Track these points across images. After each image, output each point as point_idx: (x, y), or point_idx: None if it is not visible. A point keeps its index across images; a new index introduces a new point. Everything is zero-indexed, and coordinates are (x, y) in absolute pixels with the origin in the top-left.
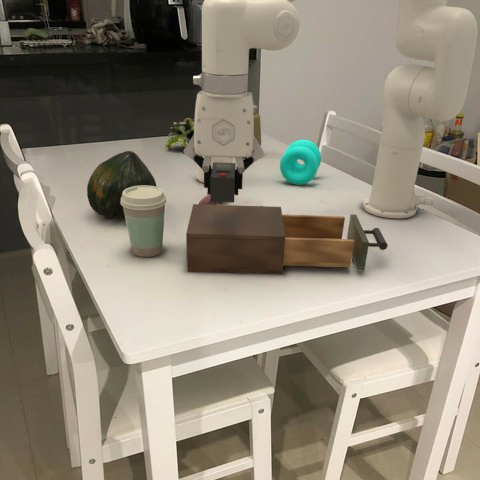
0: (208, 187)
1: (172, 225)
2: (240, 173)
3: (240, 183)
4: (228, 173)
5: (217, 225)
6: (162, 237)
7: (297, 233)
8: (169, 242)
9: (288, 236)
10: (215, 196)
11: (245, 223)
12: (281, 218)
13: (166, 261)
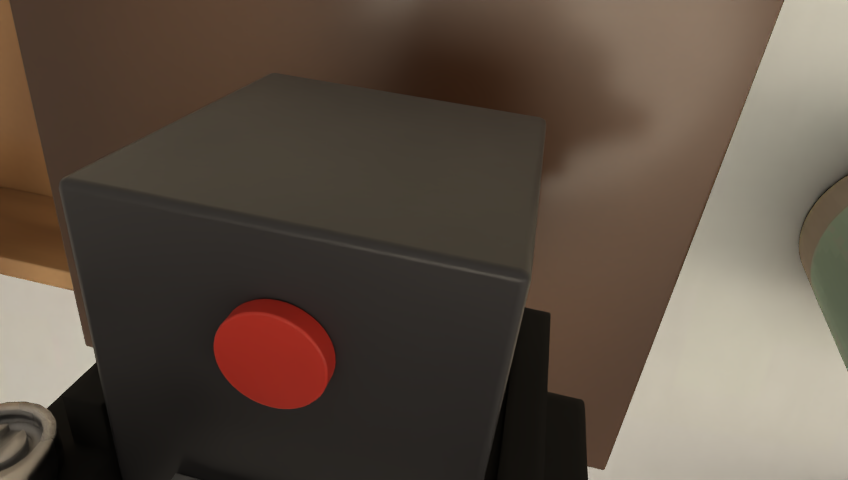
0: (536, 352)
1: (671, 466)
2: (63, 428)
3: None
4: (195, 410)
5: (487, 98)
6: (835, 248)
7: None
8: (731, 309)
9: None
10: (475, 128)
11: None
12: (55, 180)
13: (814, 87)
